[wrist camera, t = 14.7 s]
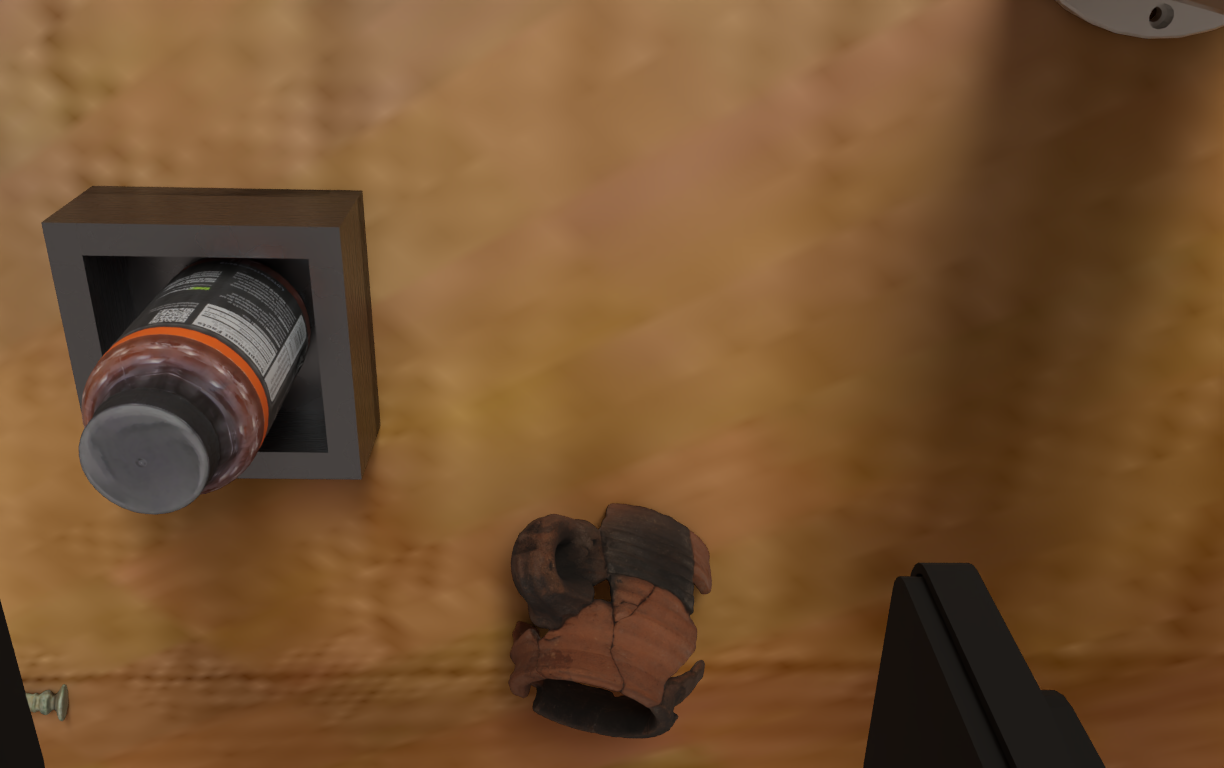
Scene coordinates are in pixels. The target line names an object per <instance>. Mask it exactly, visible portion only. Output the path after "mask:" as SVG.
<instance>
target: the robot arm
mask: <svg viewBox="0 0 1224 768" xmlns="http://www.w3.org/2000/svg"><path fill="white" fill-rule="evenodd" d="M1055 1H1056V2H1057V3H1059V4H1060V5H1061V6H1062V7H1063V8H1064V9H1065V10H1067V11H1068V12H1070V13H1072V14H1074V15H1076V16H1077V17H1079V18H1081V19H1083V20H1085V21H1086V22H1088V23H1090V24H1092V25H1095V26H1098V27H1100V28H1103V29H1106V30H1109V31H1111V32H1114V33H1117V34H1123V35H1128V36H1134V37H1140V38H1145V39H1156V38H1181V37H1186V36H1190V35H1195V34H1199V33H1204V32H1208V31H1213V30H1216V29H1218V28H1220V27H1223V26H1224V0H1055ZM1154 8H1156V14H1155V16H1154V17H1153V18H1152V19H1151V20H1149V16H1150V14H1151V11H1152V10H1153V9H1154ZM0 768H45V765H44V760H43V756H42V752H41V749H40V745H39V741H38V738H37V734H36V730H35V726H34V723H33V719H32V715H31V712H30V708H29V704H28V701H27V697H26V693H25V690H24V686H23V682H22V678H21V675H20V671H19V667H18V664H17V660H16V656H15V653H14V649H13V645H12V642H11V638H10V634H9V631H8V627H7V623H6V619H5V616H4V612H3V608H2V605H1V601H0ZM863 768H1106V767H1105V766H1104V764H1103V762H1102V760H1101V758H1100V757H1099V755H1098V753H1097V751H1096V749H1095V748H1094V746H1093V744H1092V742H1091V740H1090V739H1089V737H1088V735H1087V733H1086V731H1085V730H1084V728H1083V726H1082V724H1081V722H1080V721H1079V719H1078V717H1077V715H1076V713H1075V712H1074V710H1073V708H1072V706H1071V705H1070V704H1069V702H1068V701H1067V700H1066V698H1065V697H1064V695H1062V694H1060V693H1059V692H1057V691H1055V690H1040V688H1039V686H1038V684H1037V682H1036V680H1035V679H1034V677H1033V675H1032V673H1031V671H1030V669H1029V667H1028V665H1027V663H1026V662H1025V660H1024V658H1023V656H1022V654H1021V652H1020V650H1019V648H1018V646H1017V645H1016V643H1015V641H1014V639H1013V637H1012V635H1011V633H1010V631H1009V629H1008V628H1007V626H1006V624H1005V622H1004V620H1003V618H1002V616H1001V614H1000V613H999V611H998V609H997V607H996V605H995V603H994V601H993V599H992V597H991V596H990V594H989V592H988V590H987V588H986V586H985V584H984V582H983V580H982V579H981V577H980V575H979V573H978V571H977V570H976V568H975V567H974V566H973V565H972V564H970V563H917V564H916V565H915V566H914V568H913V570H912V572H911V576H910V577H909V576H899V577H897V578H896V580H895V582H894V586H893V591H892V597H891V603H890V609H889V615H888V621H887V627H886V633H885V639H884V645H883V651H882V657H881V663H880V669H879V675H878V681H877V687H876V693H875V699H874V705H873V711H872V717H871V723H870V729H869V735H868V741H867V747H866V753H865V759H864V767H863Z"/></svg>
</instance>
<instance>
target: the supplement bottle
mask: <svg viewBox="0 0 1224 768" xmlns="http://www.w3.org/2000/svg"><path fill="white" fill-rule="evenodd" d="M310 335H311V330H310V322H309V316H308V313H307V310H306V307H305V305H304V302H303V300H302V298H301V297H300V295H299V294H298V292H297V291H296V290H295V289H294V287H293V286H292V285H291V284H290V283H289V282H288V281H287V280H286V279H285V278H284V277H283V276H281V275H280V274H279V273H278V272H276V271H275V270H273V269H272V268H270V267H268V266H266V265H264V264H262V263H260V262H258V261H255V260H252V259H248V258H220V257H211V258H207V259H203V260H200V261H197V262H195V263H193V264H191V265H189V266H187V267H186V268H185V269H183V270H182V271H181V272H180V273H178V274H177V275H176V276H174V277H173V278H172V279H171V280H170V282H169V283H168V284H167V285H166V286H165V287H164V288H163V289H162V290H161V291H160V292H159V294H158V295H157V296H156V297H155V298H154V299H153V300H152V301H151V302H150V304H149V305H148V306H147V307H146V308H145V309H144V311H143V312H142V313H141V314H140V315H139V316H138V317H137V318H136V319H135V320H134V321H133V322H132V324H131V325H130V326H129V327H128V328H127V329H126V330H125V331H124V332H123V334H122V335H121V336H120V337H119V338H118V339H117V340H116V342H115V343H114V344H112V346H111V347H110V349H109V350H108V351H107V352H106V353H105V354H104V355H103V356H102V358H101V359H100V360H99V361H98V363H97V365H96V366H95V367H94V369H93V370H92V372H91V374H90V376H89V377H88V380H87V382H86V385H85V388H84V391H83V396H82V419H83V424H84V430H83V433H82V435H81V439H80V443H79V458H80V463H81V466H82V469H83V471H84V473H85V475H86V477H87V478H88V480H89V482H90V483H91V484H92V485H93V486H94V488H95V489H96V490H97V491H98V492H99V493H101V494H102V495H103V496H104V497H105V498H107V499H108V500H109V501H111V502H112V503H114V504H116V505H118V506H120V507H122V508H124V509H128V510H130V511H133V512H137V513H144V514H163V513H170V512H173V511H176V510H179V509H181V508H183V507H185V506H187V505H189V504H190V503H192V502H193V501H194V500H195V499H196V498H197V497H198V496H199V495H200V494H206V493H209V492H211V491H214V490H217V489H220V488H222V487H223V486H225V485H227V484H228V483H230V482H231V481H233V480H235V479H236V478H237V477H238V476H239V475H241V474H242V473H243V472H244V471H245V470H246V469H247V467H249V466H250V464H251V462H252V461H253V459H254V458H255V456H256V454H257V452H258V450H259V449H260V447H261V445H262V443H263V441H264V439H265V437H266V435H267V434H268V433H269V430H270V428H271V426H272V424H273V422H274V420H275V418H276V416H277V413H278V411H279V410H280V408H281V406H282V404H283V402H284V400H285V398H286V396H287V394H288V392H289V390H290V388H291V386H292V385H293V382H294V380H295V378H296V376H297V374H298V373H299V371H300V369H301V367H302V365H303V363H304V361H305V356H306V354H307V351H308V348H309V344H310Z"/></svg>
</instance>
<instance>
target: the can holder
mask: <svg viewBox="0 0 1224 768" xmlns="http://www.w3.org/2000/svg"><path fill="white" fill-rule="evenodd" d="M41 223H42V228H43V233H44V238H45V242H46V247H47V252H48V257H49V261H50V266H51V271H52V275H53V280H54V285H55V290H56V294H57V299H58V304H59V309H60V313H61V318H62V323H63V327H64V332H65V337H66V342H67V346H68V351H69V356H70V360H71V365H72V370H73V375H74V379H75V384H76V389H77V394H78V398H79V403H80V408H81V412H82V396H83V391H84V388H85V385H86V382H87V380H88V377H89V376H90V374H91V372H92V370H93V369H94V367H95V366H96V365H97V363H98V361H99V360H100V359H101V358H102V356H103V355H104V354H105V353H106V352H107V351H108V350H109V349H110V347H111V346H112V344H114V343H115V342H116V340H117V339H118V338H119V337H120V336H121V335H122V334H123V332H124V331H125V330H126V329H127V328H128V327H129V326H130V325H131V324H132V322H133V321H134V320H135V319H136V318H137V317H138V316H139V315H140V314H141V313H142V312H143V311H144V309H145V308H146V307H147V306H148V305H149V304H150V302H151V301H152V300H153V299H154V298H155V297H156V296H157V295H158V294H159V292H160V291H161V290H162V289H163V288H164V287H165V286H166V285H167V284H168V283H169V282H170V280H171V279H172V278H173V277H174V276H176V275H177V274H178V273H180V272H181V271H182V270H183V269H185V268H186V267H187V266H189V265H191V264H193V263H195V262H197V261H200V260H203V259H207V258H211V257H220V258H248V259H252V260H255V261H258V262H260V263H262V264H264V265H266V266H268V267H270V268H272V269H273V270H275V271H276V272H278V273H279V274H280V275H281V276H283V277H284V278H285V279H286V280H287V281H288V282H289V283H290V284H291V285H292V286H293V287H294V289H295V290H296V291H297V292H298V294H299V295H300V297H301V298H302V300H303V302H304V305H305V307H306V310H307V313H308V316H309V322H310V330H311V335H310V344H309V348H308V351H307V354H306V356H305V361H304V363H303V365H302V367H301V369H300V371H299V373H298V374H297V376H296V378H295V380H294V382H293V385H292V386H291V388H290V390H289V392H288V394H287V396H286V398H285V400H284V402H283V404H282V406H281V408H280V410H279V411H278V413H277V416H276V418H275V420H274V422H273V424H272V426H271V428H270V430H269V433H268V434H267V435H266V437H265V439H264V441H263V443H262V445H261V447H260V449H259V450H258V452H257V454H256V456H255V458H254V459H253V461H252V462H251V464H250V466H249V467H247V469H246V470H245V471H244V472H243V473H242V474H241V475H239V476H238V477H237V478H263V479H362V477H363V474H364V471H365V468H366V465H367V462H368V460H369V457H370V454H371V451H372V448H373V445H374V442H375V439H376V437H377V434H378V431H379V428H380V413H379V400H378V387H377V374H376V362H375V349H374V336H373V323H372V310H371V297H370V284H369V271H368V259H367V246H366V233H365V220H364V207H363V194H362V191H350V190H291V189H233V188H174V187H116V186H92V187H90V188H89V189H87V190H86V191H85V192H83V193H82V194H80V195H79V196H78V197H76V198H75V199H73V200H72V201H71V202H69V203H68V204H66V205H65V206H64V207H62V208H61V209H59V210H58V211H57V212H55V213H54V214H52V215H51V216H50V217H48V218H47V219H46V220H44V221H43V222H41Z"/></svg>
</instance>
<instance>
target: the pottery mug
mask: <svg viewBox="0 0 1224 768" xmlns="http://www.w3.org/2000/svg"><path fill="white" fill-rule="evenodd" d="M511 572H512V577H513V581H514V583H515V586H516V588H517V590H518V592H519V593H520V595H521V596H522V597H523V598H524V599H525V600H526V602H527V603H528V610H529V615H530V619H531V621H532V622H533V623H534V624H535V625H536V626H538V627H540V628H546V629H549V630H548V632H547V634H545V636H544V637H542V638H540V634H539V631H538V629H537V628H536V627H535V626H531V625H530V624H528V623H525V622H522V621H518V622H517V624H516V628H515V630H514V631H513V638H514V644H513V647H512V650H511V652H510V657H511V659H512V661H513V662H514V664H515V669H514V672H513V673H512V674H511V675H510V679H509V682H508V683H509V686H510V690H511V691H512V693H513V694H514V695H517V696H520V697H522V698H525V697H526V696H527V695H528V694H529V691H530V687H531V685H532V686H534V687H536V688H537V693H536V698H535V700H534V702H533V710H534V711H535V712H536V713H537V714H539V715H542V716H543V717H545V718H548V719H550V720H552V721H555V722H557V723H559V724H562V725H566V726H569V727H571V728H575V729H578V730H582V731H587V732H591V733H598V734H601V735H606V736H611V737H623V738H649V737H655V736H657V735H661V734H663V733H665V732H667V731H669V730H670V728H671V727H672V726H673V724H674V722H675V721H676V720H677V718H678V715H677V714H675V713H674V712H673V709H674V707H675V706H676V705H678V704H679V703H681V702H682V701H683V700H684V699H685V698H686V697H687V696H688V695H689V694H690V693H691V692H692V690H693V689H694V688H695V686H696V685H697V683H698V682H699V681H700V680H701V679H702V677H703V674H704V667H705V663H704V661H703V660H699V661H697V662H696V663H695V664H694V666H693V667H692V668H691V670H690V671H688V672H685V673H684V674H682V675H680V676H677V677H671V676H672V675H674V674H675V673H676V672H677V671H678V669H679V668H680V667H681V666H682V665H684V663H685V662H686V661H687V660H688V658H689V657H690V656H691V655H692V653H693V652H694V651H695V649H696V639H697V628H696V626H695V625H694V623H693V621H692V619H691V618H690V615H691V614H692V613H693V611H694V610H693V606H694V596H693V591H694V584H695V585H696V587H697V588H698V589H699V591H700V593H701V594H708V593H709V592H710V591H711V586H712V579H711V570H710V565H709V551H708V549H707V547H706V545H705V544H704V543H703V541H702V540H701V539H700V538H699V537H698V536H697V535H695V534H694V533H693V532H692V531H690V530H689V529H688V528H687V527H686V526H684V525H683V524H681V523H679V522H677V521H675V520H674V519H673V518H671V517H670V516H667V515H663V514H661V513H658V512H656V511H655V510H652V509H648V508H645V507H640V506H632V505H627V504H610V505H608V507H607V511H606V517H605V519H603V521H602V524H601V527H600V528H599V530H598V529H597V528H596V527H595V526H594V525H593V524H591V523H590V522H588V521H586V520H580V519H572V518H569V517H565V516H561V515H557V514H551V515H547V516H545V517H541V518H538V519H536V520H534V521H532V522H531V523H530V524H529V525H528V526H527V527H526V528H525V529H524V530H523V531H522V532H521V533H520V534H519V535H518V538H517V540H516V542H515V545H514V548H513V552H512V558H511ZM605 579H606V580H608V581H609V585H610V593H611V602H608V601H605V600H602V599H593V598H594V588H593V586H595V585H597V584H598V583H600V582H602V581H604V580H605ZM693 583H694V584H693ZM669 677H670V678H669ZM576 682H581V683H586V684H591V685H595V686H599V687H604V688H606V689H609V690H612V691H616V692H621V693H622V694H623V695H624V696H619V697H614V695H613V693H612V692H610V691H608V690H604V689H601V688H595V687H590V686H586V685H583V684H579V683H576Z"/></svg>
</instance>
